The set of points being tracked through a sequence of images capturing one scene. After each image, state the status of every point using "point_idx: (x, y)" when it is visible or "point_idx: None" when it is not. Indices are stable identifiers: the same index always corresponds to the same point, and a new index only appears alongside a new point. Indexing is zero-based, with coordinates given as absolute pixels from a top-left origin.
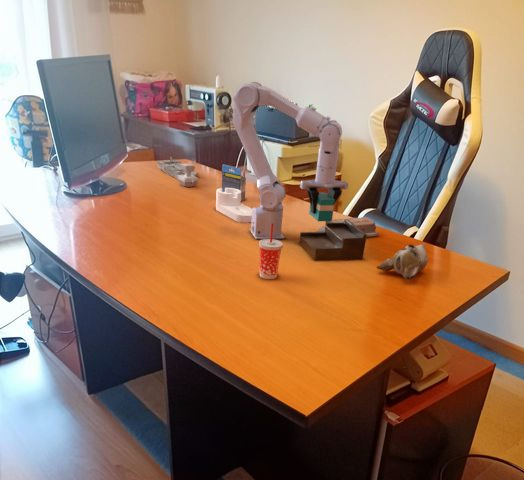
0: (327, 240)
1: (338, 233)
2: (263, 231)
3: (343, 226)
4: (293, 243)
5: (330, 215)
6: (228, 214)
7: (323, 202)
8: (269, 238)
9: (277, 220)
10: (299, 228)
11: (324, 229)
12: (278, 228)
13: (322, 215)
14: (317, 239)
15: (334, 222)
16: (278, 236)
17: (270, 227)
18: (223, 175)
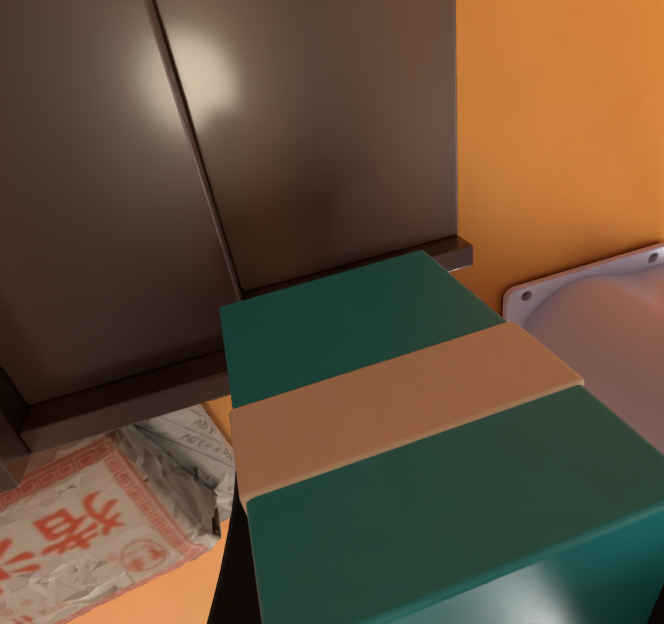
0: (231, 162)
1: (105, 94)
2: (662, 287)
3: (41, 398)
4: (468, 220)
5: (266, 341)
6: None
7: (565, 456)
8: (600, 261)
9: (655, 349)
10: None
11: (220, 476)
12: (589, 324)
13: (403, 303)
14: (331, 177)
15: (148, 521)
16: (543, 300)
17: (653, 305)
18: None
